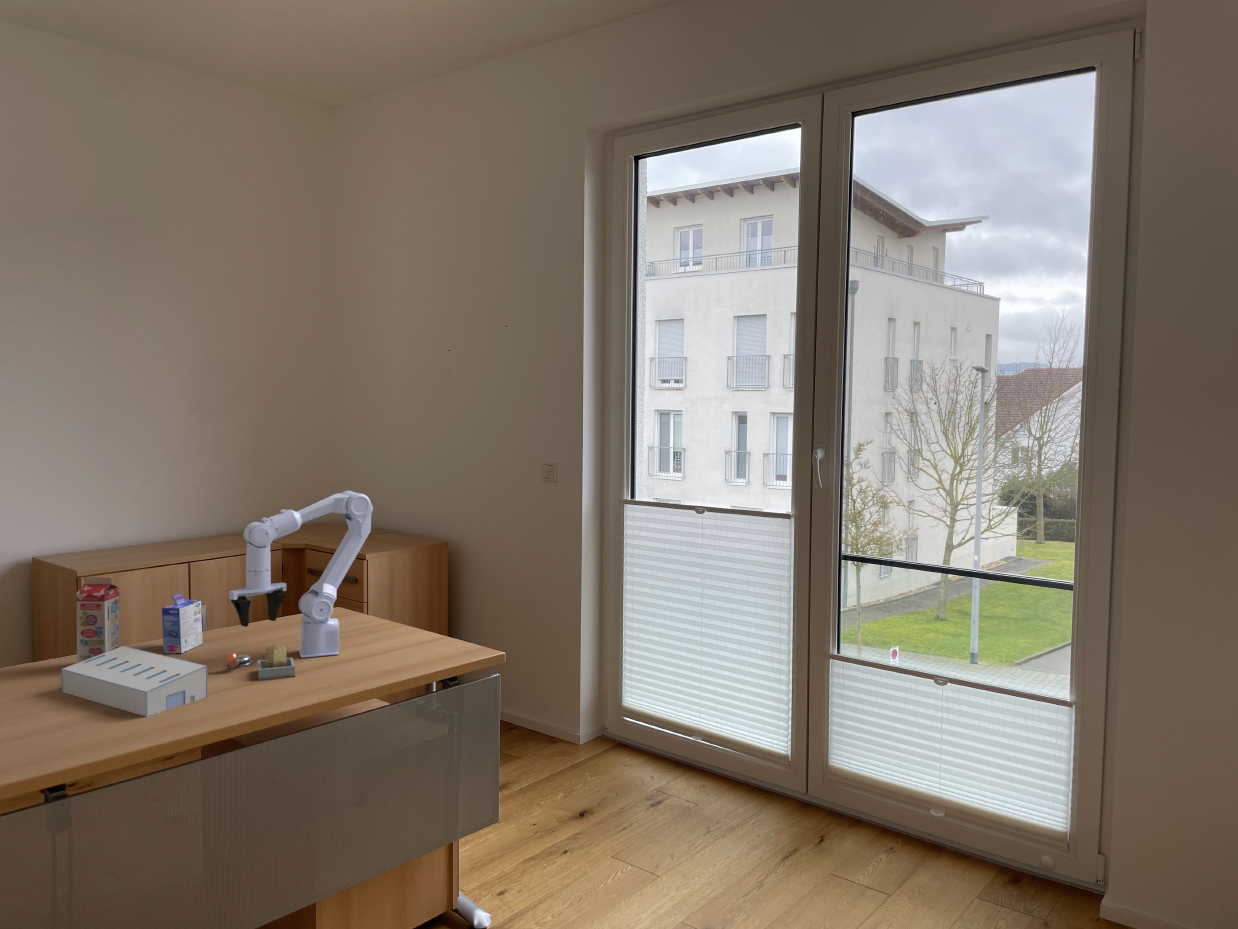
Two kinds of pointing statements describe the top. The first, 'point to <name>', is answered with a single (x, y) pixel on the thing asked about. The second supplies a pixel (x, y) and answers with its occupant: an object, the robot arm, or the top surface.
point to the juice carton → (97, 618)
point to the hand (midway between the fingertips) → (258, 623)
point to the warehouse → (136, 680)
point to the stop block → (275, 656)
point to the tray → (276, 670)
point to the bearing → (245, 663)
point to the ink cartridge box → (182, 625)
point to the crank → (235, 659)
